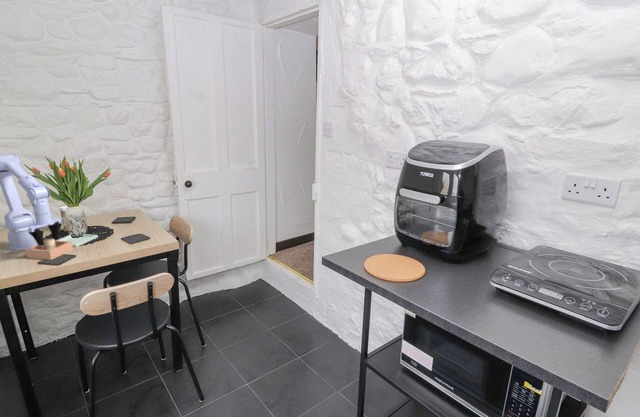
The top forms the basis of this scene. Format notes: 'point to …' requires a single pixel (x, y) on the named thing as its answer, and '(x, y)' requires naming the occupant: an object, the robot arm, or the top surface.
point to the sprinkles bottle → (63, 217)
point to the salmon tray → (39, 253)
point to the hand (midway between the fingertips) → (48, 242)
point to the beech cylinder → (49, 244)
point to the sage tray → (79, 239)
